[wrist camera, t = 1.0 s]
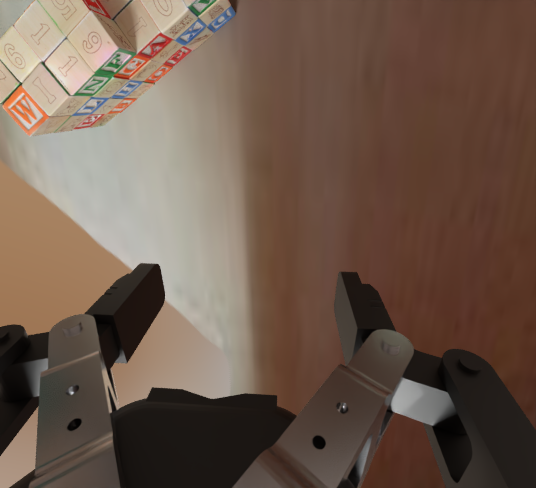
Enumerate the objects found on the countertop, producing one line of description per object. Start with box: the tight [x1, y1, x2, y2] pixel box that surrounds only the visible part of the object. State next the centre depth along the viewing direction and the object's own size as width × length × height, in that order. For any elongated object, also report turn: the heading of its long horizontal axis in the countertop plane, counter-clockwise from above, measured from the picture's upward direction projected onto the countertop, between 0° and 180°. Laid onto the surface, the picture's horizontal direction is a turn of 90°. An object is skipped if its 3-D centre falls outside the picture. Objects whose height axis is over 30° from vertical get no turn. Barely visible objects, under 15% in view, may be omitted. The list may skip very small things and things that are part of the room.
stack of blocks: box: [0, 0, 236, 136], centre depth 28 cm, size 21×6×12 cm, turn 123°
